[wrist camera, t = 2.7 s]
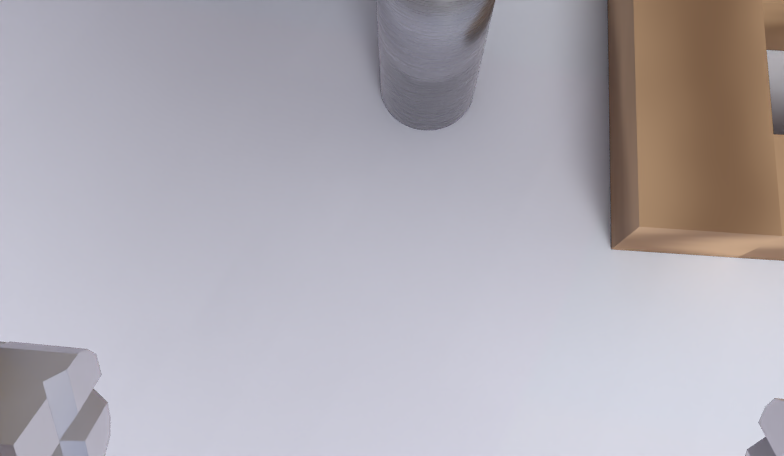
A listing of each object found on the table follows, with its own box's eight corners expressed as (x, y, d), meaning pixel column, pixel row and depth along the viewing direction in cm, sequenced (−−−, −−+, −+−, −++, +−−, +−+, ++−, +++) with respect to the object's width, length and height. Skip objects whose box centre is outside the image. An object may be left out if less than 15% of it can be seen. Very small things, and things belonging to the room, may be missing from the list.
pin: (377, 127, 26) (365, -43, 17) (384, 43, 27) (376, -164, 18) (472, 133, 26) (514, -35, 17) (475, 48, 27) (517, -156, 18)
